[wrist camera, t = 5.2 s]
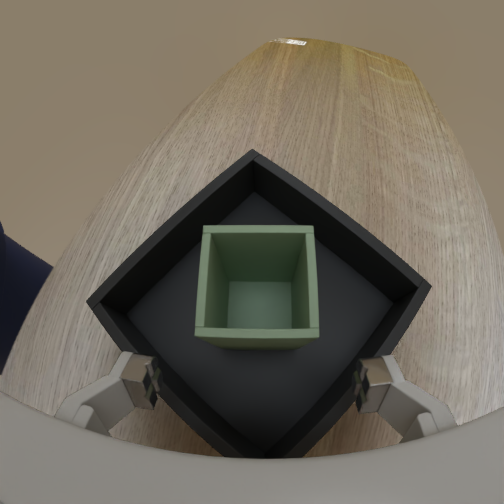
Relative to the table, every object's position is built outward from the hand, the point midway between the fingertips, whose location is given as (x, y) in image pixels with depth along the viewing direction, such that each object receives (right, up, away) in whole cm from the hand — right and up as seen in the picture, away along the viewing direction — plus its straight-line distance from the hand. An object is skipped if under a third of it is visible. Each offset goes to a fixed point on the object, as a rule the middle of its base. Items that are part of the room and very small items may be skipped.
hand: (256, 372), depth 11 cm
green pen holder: (0, +1, +9) cm, 9 cm away
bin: (0, 0, +9) cm, 9 cm away
